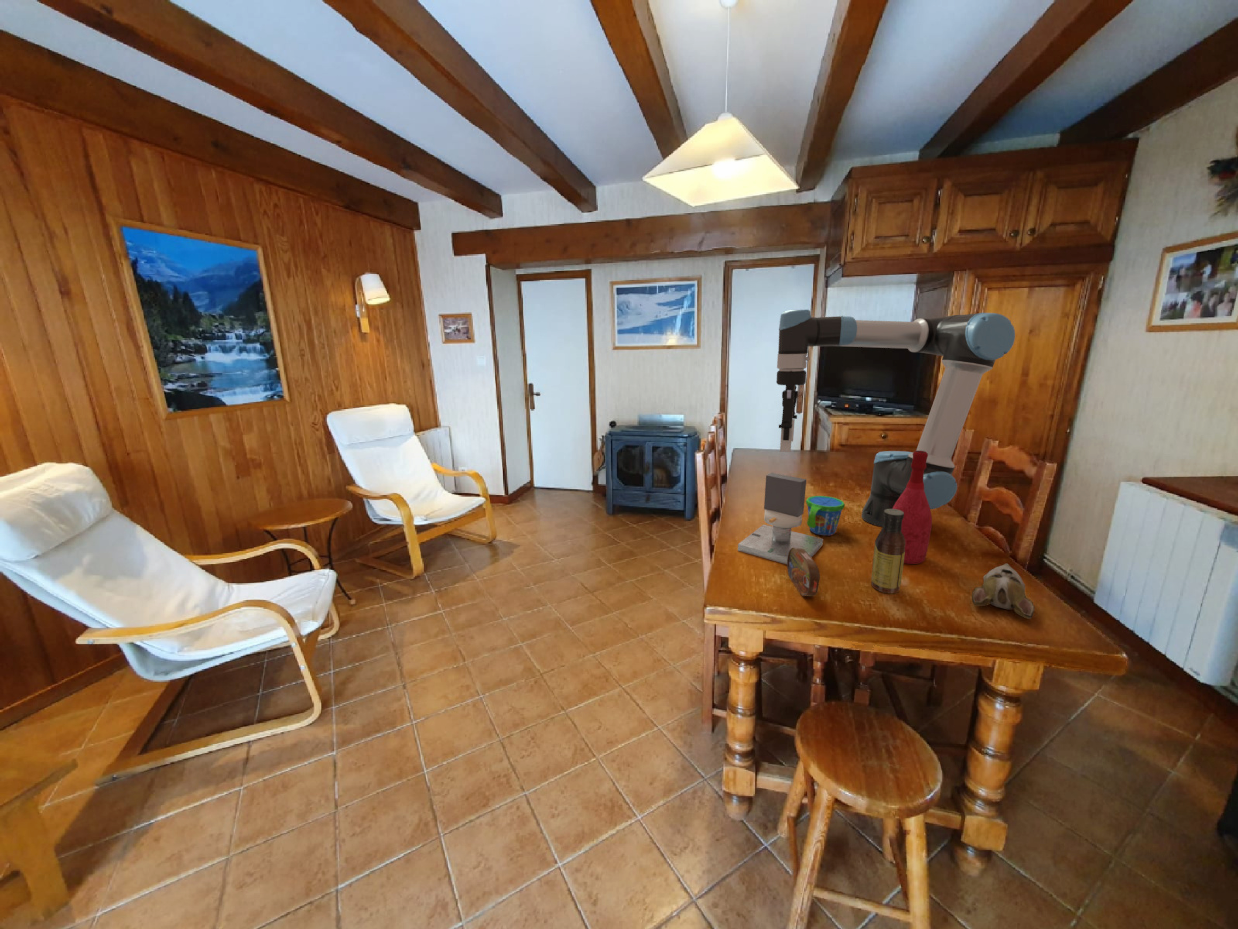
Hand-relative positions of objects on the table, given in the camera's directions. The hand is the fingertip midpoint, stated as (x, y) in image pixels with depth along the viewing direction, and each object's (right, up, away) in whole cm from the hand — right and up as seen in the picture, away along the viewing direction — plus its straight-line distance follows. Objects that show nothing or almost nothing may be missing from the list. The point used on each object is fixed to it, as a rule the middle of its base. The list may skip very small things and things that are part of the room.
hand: (786, 446), depth 132 cm
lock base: (-1, -29, +3) cm, 29 cm away
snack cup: (+16, -26, +13) cm, 33 cm away
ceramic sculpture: (+38, -37, -27) cm, 60 cm away
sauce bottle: (+16, -35, -20) cm, 44 cm away
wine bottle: (+30, -31, -5) cm, 44 cm away
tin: (-3, -35, -18) cm, 40 cm away
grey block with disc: (-2, -22, 0) cm, 22 cm away
